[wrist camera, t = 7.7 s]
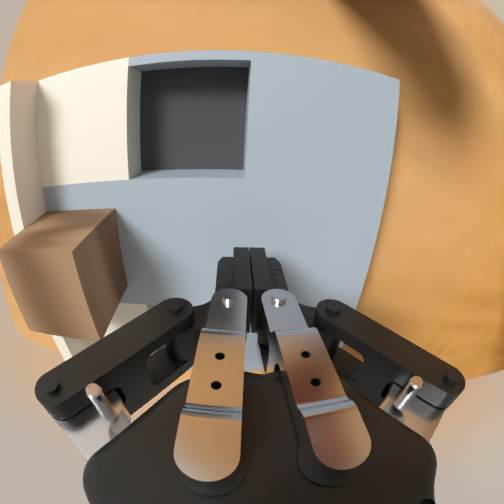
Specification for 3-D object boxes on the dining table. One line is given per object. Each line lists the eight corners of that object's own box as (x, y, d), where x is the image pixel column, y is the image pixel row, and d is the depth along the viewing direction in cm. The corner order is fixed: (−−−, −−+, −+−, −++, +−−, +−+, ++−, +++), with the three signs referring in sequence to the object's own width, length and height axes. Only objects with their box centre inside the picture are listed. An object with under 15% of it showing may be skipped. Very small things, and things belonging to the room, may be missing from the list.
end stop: (37, 81, 10) (10, 81, 7) (95, 359, 19) (86, 382, 17) (26, 85, 9) (-1, 86, 7) (85, 358, 19) (76, 380, 17)
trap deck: (379, 81, 13) (400, 79, 11) (328, 343, 23) (335, 364, 21) (48, 85, 12) (26, 85, 9) (94, 338, 21) (85, 358, 19)
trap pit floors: (248, 68, 13) (248, 67, 13) (237, 343, 22) (237, 346, 22) (142, 72, 12) (141, 71, 12) (165, 341, 22) (165, 344, 22)
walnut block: (114, 208, 14) (71, 251, 9) (127, 285, 16) (101, 342, 12) (46, 211, 13) (-3, 250, 9) (64, 281, 16) (30, 330, 11)
